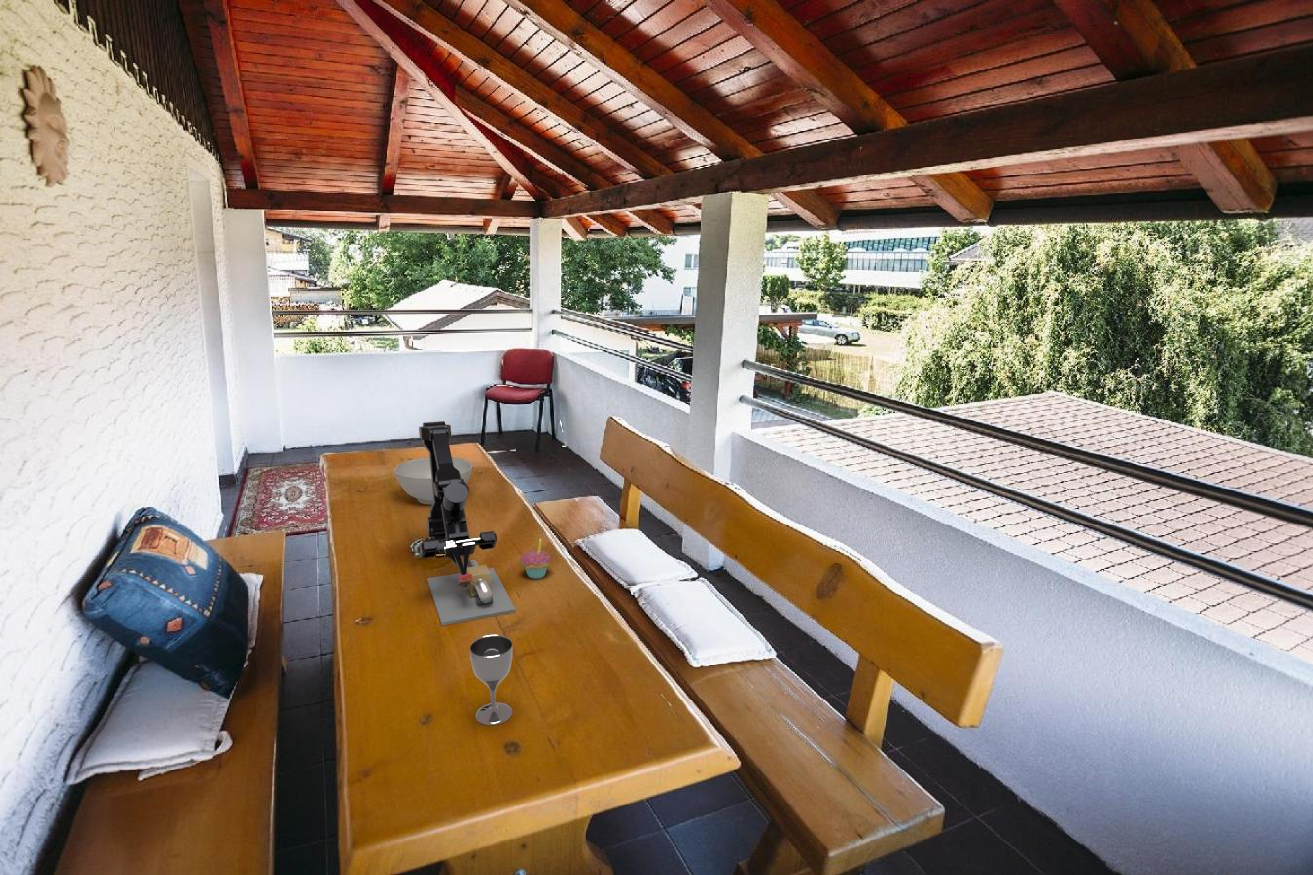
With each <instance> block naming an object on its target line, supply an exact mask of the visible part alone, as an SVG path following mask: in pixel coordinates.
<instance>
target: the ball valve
mask: <svg viewBox="0 0 1313 875" xmlns="http://www.w3.org/2000/svg"><path fill="white" fill-rule="evenodd" d="M466 573H467V574H472V578H473V580H472V581H471V582H469V583H468V584H467V588H468V590H469V593H470V595H471V596H477V595H479V597H476V604H477V606H483V605H488V604H493V594H492V592H491V573H490V571H489V567H488V565H487V564H482V565H479V564H478V562H477V561H476V560H475V559H468V565H467V572H466Z"/></svg>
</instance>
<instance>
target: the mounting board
mask: <svg viewBox="0 0 1313 875" xmlns="http://www.w3.org/2000/svg"><path fill="white" fill-rule="evenodd" d="M488 569H489V571H490V573H491V592H492V594H493V604H488V605H483V606H477V604H476V597H479V595H477V596H471V595H470V593H469V590H468V588H467V587H464V588H461V586H457V584H456V581H457V580H458V579H459V576H460V575H461V573H460V572H458V573H451V574H446V575H439V576H433V577H428V578H427V585H428V586H429V590H430V593H431V597H432V599H433V603H434V605H435V610H436V612H437V615H438V618H439V620H440V624H441V626H447V625H453V624H458V623H459V624H460V623H464V622H469V621H475V620H480V619H484V618H485V619H487V618H490V617H496V616H501V615H507V614H511V613H512V614H513V613H516V612H517V610H516V607H515V605H514V603H513V602H512V600H511V598H510V596H509V595H508V593H507V590H506V589H505V587H504V585H503V582H501V579H500V578H499V576H498V574H497V572H496V570H495V568H494V567H491V568H489V567H488ZM466 574H467V573H466Z"/></svg>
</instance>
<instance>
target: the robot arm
mask: <svg viewBox="0 0 1313 875" xmlns="http://www.w3.org/2000/svg"><path fill="white" fill-rule="evenodd" d="M451 426H452V425H451V424H446V422H445V420H440V421H427V422H423V423H422V426H418V434H419V439H420V440H421V441H422V445H423V446H424V448H425V449H426V450H427V451H428V454H429V455H428V457H430V468H431V479H432V491H433V504H432V505H431V506H430V508H429V509H428V516H427V518H426V533H427V535H428V538H429V539H424V540H422V541H421V542H420V548H419V549H420V558H421V559H429V558H434V557H436V556H435V555H436V554H445V556H444V558H445V559H447V558H449V560H451V561H452V562H453V563H454V564H455V565H456V568H457V569H458V571H459V573H461V575H466V572H467V565H468V561H469V560H470V555H473V554H474V553H475V550H476V546H478V547H479V549H481V550H490V549H494V548H495V547H496V546H497V542H498V536H497V532H496V531H494V530H490V531H482V532H480V533H479V535H478V537H473V538H471V537H470V533H469V527H468V521H467V516H466V510H465V508H466V504H467V500H468V495H469V490H470V489H469V485H468V484H467V483H465V482H464V479H461V475H460V471H459V470H458V469H456V468H455V467H454V465H453V461H452V457H453V456H452V452H451V448H450V441H449V439H451V438H452V427H451Z"/></svg>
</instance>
